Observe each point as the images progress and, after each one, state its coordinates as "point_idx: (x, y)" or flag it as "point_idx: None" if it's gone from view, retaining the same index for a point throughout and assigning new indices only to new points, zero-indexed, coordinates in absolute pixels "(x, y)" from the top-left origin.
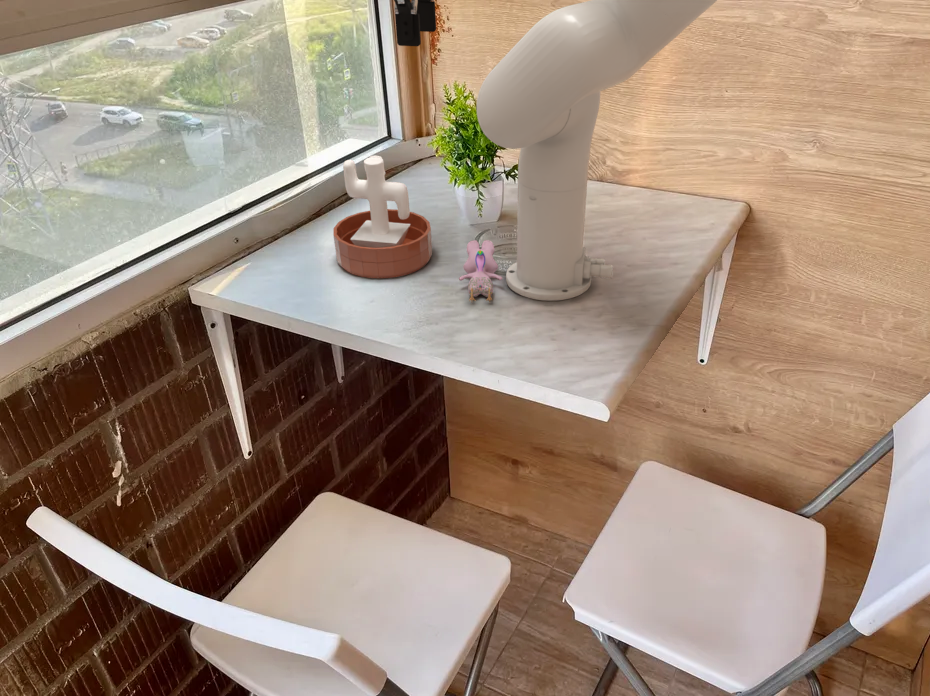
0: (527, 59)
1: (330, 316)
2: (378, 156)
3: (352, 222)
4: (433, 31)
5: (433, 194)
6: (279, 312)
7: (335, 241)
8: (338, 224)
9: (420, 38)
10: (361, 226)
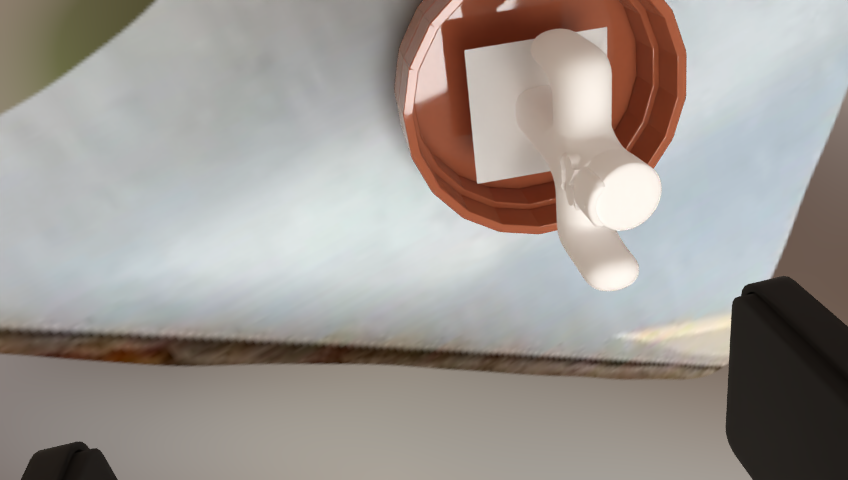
0: None
1: (827, 54)
2: (598, 197)
3: (491, 213)
4: (85, 448)
5: (38, 153)
6: (814, 165)
7: None
8: (555, 225)
9: (785, 310)
10: (522, 175)
